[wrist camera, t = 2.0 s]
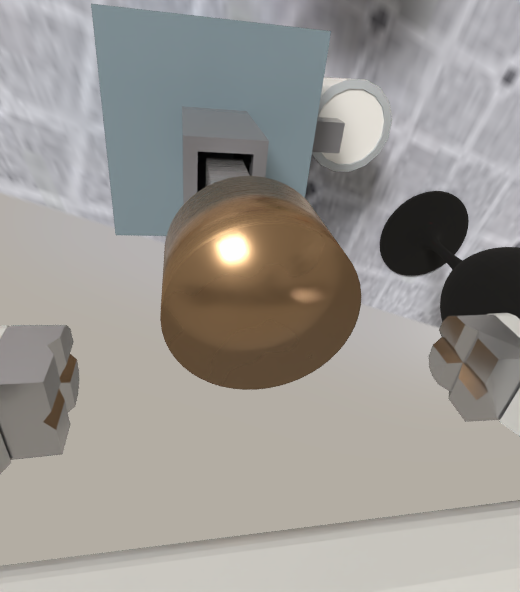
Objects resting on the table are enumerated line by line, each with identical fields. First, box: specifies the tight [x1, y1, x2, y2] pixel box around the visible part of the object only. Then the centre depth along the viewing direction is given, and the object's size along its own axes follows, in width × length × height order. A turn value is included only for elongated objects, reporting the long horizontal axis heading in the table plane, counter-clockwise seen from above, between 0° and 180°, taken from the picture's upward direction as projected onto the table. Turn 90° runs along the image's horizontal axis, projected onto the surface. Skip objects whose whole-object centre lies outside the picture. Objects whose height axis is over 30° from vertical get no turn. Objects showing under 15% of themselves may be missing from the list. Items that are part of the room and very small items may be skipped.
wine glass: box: [380, 191, 520, 322], centre depth 38 cm, size 10×10×20 cm
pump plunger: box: [161, 157, 361, 389], centre depth 14 cm, size 5×5×11 cm
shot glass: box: [312, 78, 392, 172], centre depth 35 cm, size 7×7×7 cm
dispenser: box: [91, 4, 345, 236], centre depth 27 cm, size 15×12×21 cm
